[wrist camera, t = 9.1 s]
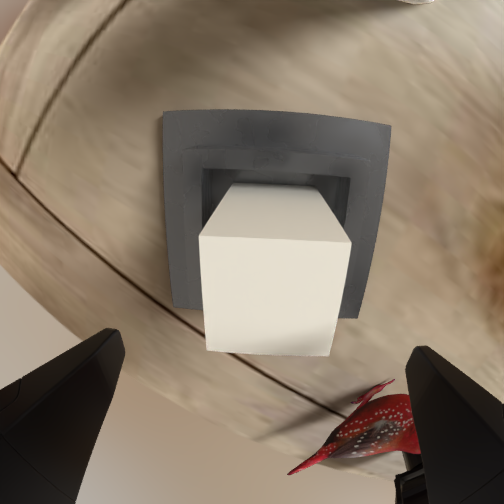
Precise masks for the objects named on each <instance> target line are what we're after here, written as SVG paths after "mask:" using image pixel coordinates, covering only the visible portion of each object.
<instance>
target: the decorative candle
mask: <svg viewBox="0 0 504 504" xmlns="http://www.w3.org/2000/svg"><path fill="white" fill-rule="evenodd" d="M398 1H402V2H406V3H410V4H414V5H415V4H425V3H431V2H433V1H434V0H398Z"/></svg>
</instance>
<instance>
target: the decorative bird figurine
mask: <svg viewBox="0 0 504 504" xmlns="http://www.w3.org/2000/svg"><path fill="white" fill-rule="evenodd" d="M394 380H395V379H394ZM394 380H392V381H390V382H388V383H386V384H383V385H378V386H376V387H374V388H373V389H371V390H370V391H369V392H368V393H366V394H364V395H362V396H360V397H359V398H357V400H358V401H357V402H351V403H353V404H357V403H360V402H361V401H363V400H364V401H363V402H362V403H361V404H360V405H359V406H358V407H357V409H356V410H355V411H354V412H353V413H352V414H351V415H350V416H349V417H348V418H347V419H346V420H345V421H344V422H342V423H341V424H340V425H339V426H338V427H336V428H335V429H334V430H333V431H332V433H331V434H330V436H329V437H328V439H327V440H326V442H325V443H324V444H323V446H322V447H321V448H320V449H319V450H318V451H317V452H316V453H315V454H314V455H312V456H311V457H310V458H308V459H307V460H305V461H304V462H303V463H301V464H300V465H299V466H297V467H296V468H294V469H293V470H291V471H290V472H289V473H288V474H287V475H291V474H294V473H297V472H299V471H301V470H303V469H305V468H308V467H310V466H312V465H314V464H316V463H318V462H320V461H322V460H324V459H326V458H355V457H363V456H369V455H373V454H378V453H383V452H390V451H404V452H408V453H413V454H421V452H420V447H419V442H418V438H417V433H416V429H415V424H414V420H413V416H412V411H411V405H410V398H409V395H407V394H394V395H386V396H383V397H380V398H377V399H374V400H372V401H369V400H370V399H371V398H372V397H373V396H374V395H375V394H376V393H378V392H380V391H381V390H382V389H383V388H384V387H385V386H386V385H388V384H390V383H392V382H393V381H394ZM360 398H362V399H360ZM359 399H360V400H359ZM368 401H369V402H368Z"/></svg>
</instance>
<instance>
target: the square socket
mask: <svg viewBox="0 0 504 504" xmlns="http://www.w3.org/2000/svg"><path fill="white" fill-rule="evenodd" d="M390 138H391V126H390V125H385V124H380V123H374V122H368V121H362V120H356V119H349V118H342V117H334V116H326V115H317V114H308V113H296V112H283V111H266V110H182V111H165V112H163V180H164V204H165V222H166V236H167V249H168V261H169V272H170V282H171V291H172V300H173V307H176V308H186V309H196V310H203V298H202V284H201V269H200V252H199V234H200V233H201V231H202V230H203V228H204V227H205V225H206V223H207V222H208V220H209V219H210V217H211V216H212V214H213V213H214V211H215V210H216V208H217V206H218V205H219V203H220V202H221V200H222V199H223V197H224V196H225V194H226V193H227V191H228V190H229V188H230V187H231V185H232V184H233V183H257V184H280V185H299V186H314V187H316V188H317V190H318V191H319V193H320V194H321V196H322V197H323V199H324V200H325V202H326V203H327V205H328V206H329V208H330V209H331V211H332V212H333V214H334V215H335V217H336V219H337V220H338V222H339V223H340V225H341V226H342V228H343V230H344V231H345V233H346V234H347V236H348V238H349V239H350V241H351V243H352V244H351V251H350V257H349V263H348V269H347V274H346V280H345V285H344V290H343V295H342V300H341V305H340V310H339V315H338V318H358V315H359V311H360V307H361V304H362V300H363V296H364V292H365V288H366V284H367V279H368V275H369V271H370V266H371V262H372V257H373V252H374V247H375V242H376V237H377V232H378V226H379V221H380V215H381V209H382V203H383V196H384V189H385V182H386V175H387V166H388V158H389V148H390Z"/></svg>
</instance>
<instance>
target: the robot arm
mask: <svg viewBox="0 0 504 504" xmlns="http://www.w3.org/2000/svg"><path fill="white" fill-rule="evenodd" d="M124 357H125V348H124V344H123V341H122V337H121V334H120V332H119V330H117V329H112V328H105V329H103V330H102V331H100V332H98V333H97V334H95V335H93V336H91V337H90V338H88V339H86V340H85V341H83V342H81V343H79V344H78V345H76V346H74V347H73V348H71V349H69V350H67V351H66V352H64V353H62V354H61V355H59V356H57V357H56V358H54V359H52V360H50V361H49V362H47V363H45V364H44V365H42V366H40V367H39V368H37V369H35V370H33V371H32V372H30V373H28V374H27V375H25V376H23V377H22V379H21V378H20V379H18V380H16V381H15V382H13V383H11V384H9V385H8V386H6V387H4V388H3V389H1V390H0V504H75V503H76V502H75V501H76V499H77V496H78V493H79V489H80V486H81V483H82V480H83V477H84V474H85V471H86V468H87V465H88V462H89V459H90V457H91V454H92V450H93V448H94V445H95V443H96V440H97V437H98V434H99V432H100V429H101V426H102V424H103V421H104V418H105V416H106V413H107V411H108V408H109V406H110V403H111V401H112V398H113V395H114V392H115V389H116V385H117V381H118V378H119V374H120V371H121V367H122V364H123V361H124ZM405 372H406V378H407V384H408V391H409V398H410V405H411V411H412V416H413V420H414V424H415V429H416V433H417V438H418V442H419V447H420V452H421V454H413V453H408V452H404V451H402V453H403V457H404V461H405V465H406V469H407V471H406V472H404V473H402V474H398V475H395V477H396V479H395V480H394V483H395V488H396V499H395V504H504V404H502V402H501V401H499V400H498V399H497V398H496V397H494V396H493V395H492V394H490V393H489V392H488V391H487V390H485V389H484V388H483V387H481V386H480V385H479V384H477V383H476V382H475V381H474V380H472V379H471V378H470V377H468V376H467V375H466V374H464V373H463V372H462V371H460V370H459V369H458V368H457V367H455V366H454V365H453V364H451V363H450V362H449V361H447V360H446V359H445V358H443V357H442V356H441V355H439V354H438V353H437V352H435V351H434V350H432V349H431V348H430V347H428V346H417V347H415V348H414V349H413V352H412V354H411V356H410V358H409V360H408V362H407V365H406V369H405Z"/></svg>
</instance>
